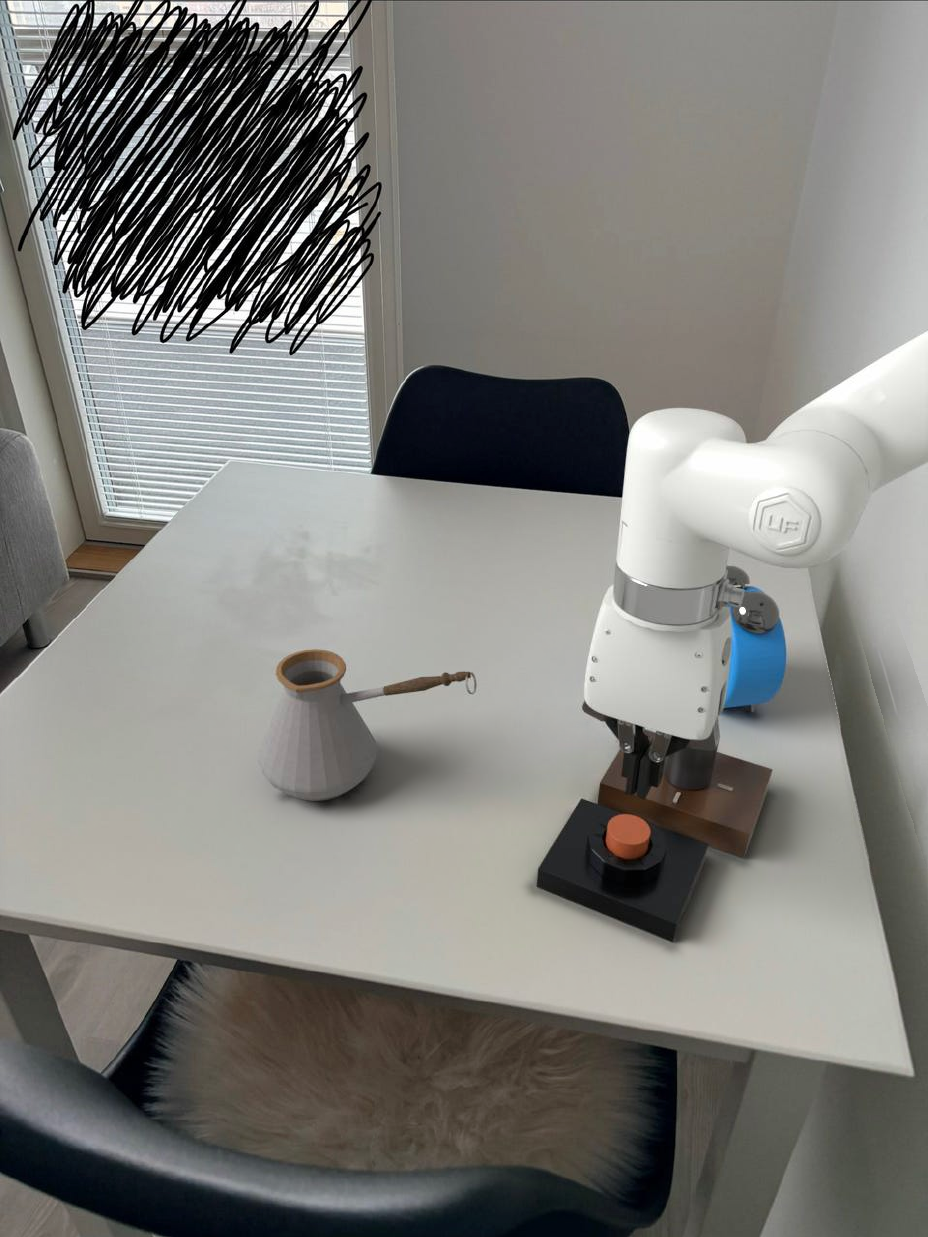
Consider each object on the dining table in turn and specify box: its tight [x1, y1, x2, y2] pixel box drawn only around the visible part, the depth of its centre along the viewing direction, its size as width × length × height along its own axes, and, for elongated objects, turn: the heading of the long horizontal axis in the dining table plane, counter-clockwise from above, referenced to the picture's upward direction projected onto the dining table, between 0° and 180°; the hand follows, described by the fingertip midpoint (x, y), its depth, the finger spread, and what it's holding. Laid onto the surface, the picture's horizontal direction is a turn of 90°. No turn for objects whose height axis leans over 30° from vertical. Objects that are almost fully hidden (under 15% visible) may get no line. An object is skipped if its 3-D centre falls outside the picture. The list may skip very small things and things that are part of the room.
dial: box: [664, 741, 720, 790], centre depth 82 cm, size 4×4×5 cm
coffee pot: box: [258, 648, 477, 802], centre depth 82 cm, size 21×12×15 cm, turn 76°
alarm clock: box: [723, 565, 787, 713], centre depth 96 cm, size 13×6×15 cm, turn 11°
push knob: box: [606, 814, 651, 859], centre depth 74 cm, size 4×4×2 cm
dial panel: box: [596, 728, 773, 859], centre depth 84 cm, size 14×10×3 cm
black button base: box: [536, 797, 709, 943], centre depth 76 cm, size 12×10×4 cm
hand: (640, 786), depth 71 cm, fingers closed
